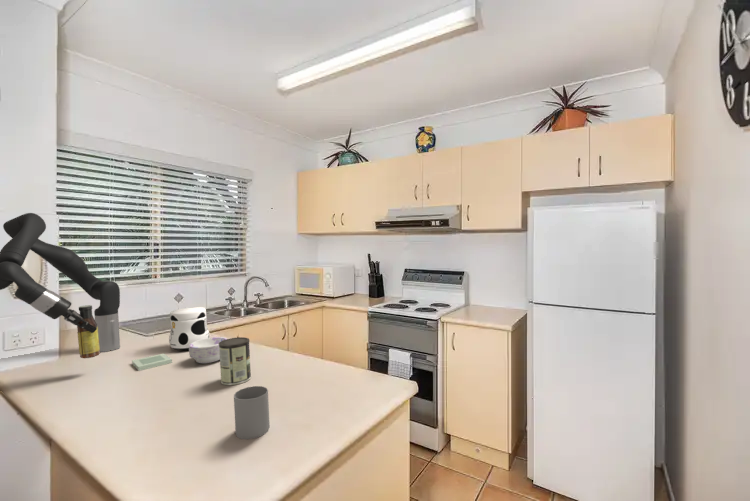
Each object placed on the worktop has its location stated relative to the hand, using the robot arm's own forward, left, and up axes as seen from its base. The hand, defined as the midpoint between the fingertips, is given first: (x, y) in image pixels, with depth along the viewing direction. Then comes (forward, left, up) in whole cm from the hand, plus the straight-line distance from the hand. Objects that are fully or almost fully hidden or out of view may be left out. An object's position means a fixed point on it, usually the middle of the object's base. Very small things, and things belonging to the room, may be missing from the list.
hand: (93, 329), depth 140 cm
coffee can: (+50, +34, -18) cm, 63 cm away
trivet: (+4, +18, -18) cm, 26 cm away
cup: (+88, +22, -18) cm, 93 cm away
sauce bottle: (0, -2, -11) cm, 11 cm away
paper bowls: (+19, +36, -18) cm, 45 cm away
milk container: (-9, +37, -18) cm, 42 cm away
